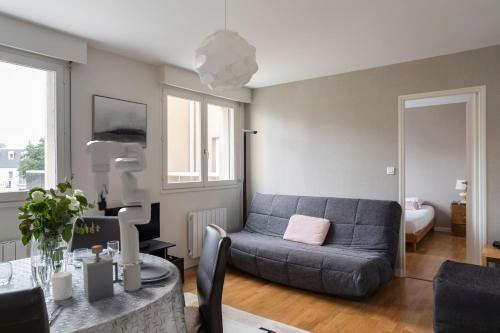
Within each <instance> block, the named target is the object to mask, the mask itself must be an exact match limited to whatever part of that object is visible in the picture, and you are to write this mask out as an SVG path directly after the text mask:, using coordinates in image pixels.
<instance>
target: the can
mask: <svg viewBox="0 0 500 333" xmlns="http://www.w3.org/2000/svg"><path fill="white" fill-rule="evenodd" d="M124 265H125V266H122V277H123V289H124V290H125V291H126V292H136V291H138V290H140V289H141V287H142V271H141V269H142V268H141V263H140V264H139V262H137V261H130V262H127V263H125V264H124Z"/></svg>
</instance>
